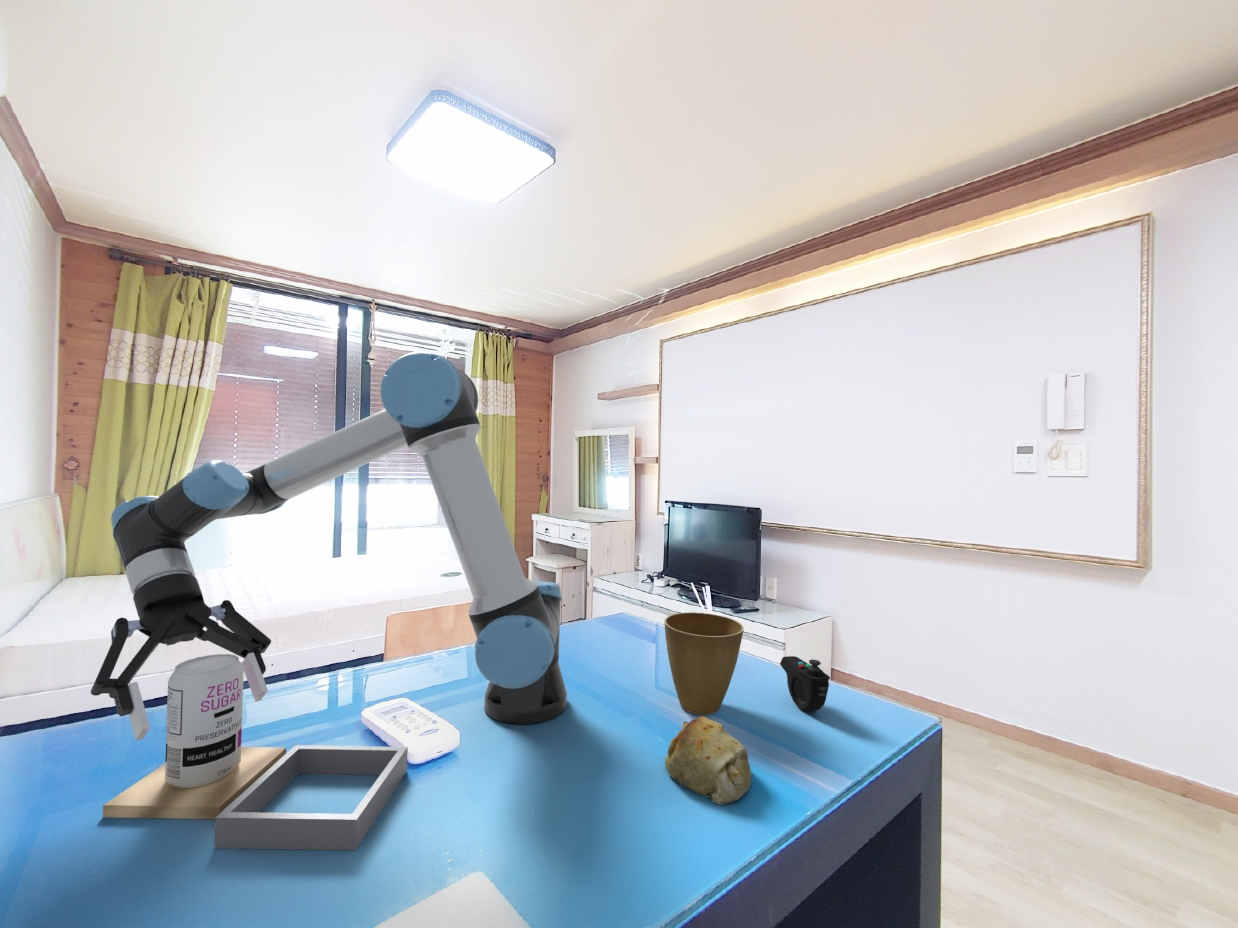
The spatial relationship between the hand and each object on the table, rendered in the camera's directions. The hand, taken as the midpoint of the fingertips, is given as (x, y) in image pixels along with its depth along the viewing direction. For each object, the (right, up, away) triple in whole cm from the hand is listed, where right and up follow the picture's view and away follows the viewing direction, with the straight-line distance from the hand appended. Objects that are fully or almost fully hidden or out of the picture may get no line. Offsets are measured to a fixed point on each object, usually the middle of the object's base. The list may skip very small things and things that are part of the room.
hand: (207, 713), depth 73 cm
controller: (+91, -13, +31) cm, 97 cm away
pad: (-1, -10, +1) cm, 10 cm away
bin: (+17, -10, -3) cm, 20 cm away
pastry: (+69, -13, +7) cm, 70 cm away
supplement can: (-1, -9, +1) cm, 9 cm away
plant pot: (+71, -13, +29) cm, 78 cm away
